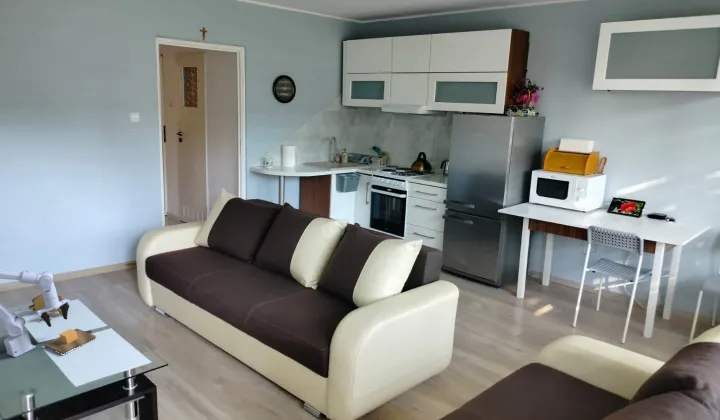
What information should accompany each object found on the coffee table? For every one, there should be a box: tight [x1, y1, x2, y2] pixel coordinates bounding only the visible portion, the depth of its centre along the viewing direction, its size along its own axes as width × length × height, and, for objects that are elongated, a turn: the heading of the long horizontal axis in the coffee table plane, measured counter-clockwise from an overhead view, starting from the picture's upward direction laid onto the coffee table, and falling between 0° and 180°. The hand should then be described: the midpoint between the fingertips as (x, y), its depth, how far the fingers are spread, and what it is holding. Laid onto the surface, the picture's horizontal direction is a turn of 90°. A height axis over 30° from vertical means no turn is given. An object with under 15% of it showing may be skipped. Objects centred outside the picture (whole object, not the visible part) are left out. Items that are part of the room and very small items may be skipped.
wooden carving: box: [28, 293, 63, 313], centre depth 281 cm, size 16×5×10 cm, turn 141°
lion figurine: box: [39, 297, 67, 322], centre depth 272 cm, size 15×5×9 cm, turn 134°
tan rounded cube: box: [59, 328, 78, 344], centre depth 245 cm, size 5×5×4 cm
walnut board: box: [44, 328, 97, 354], centre depth 246 cm, size 16×16×4 cm
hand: (57, 322), depth 247 cm, fingers open, 7 cm apart
